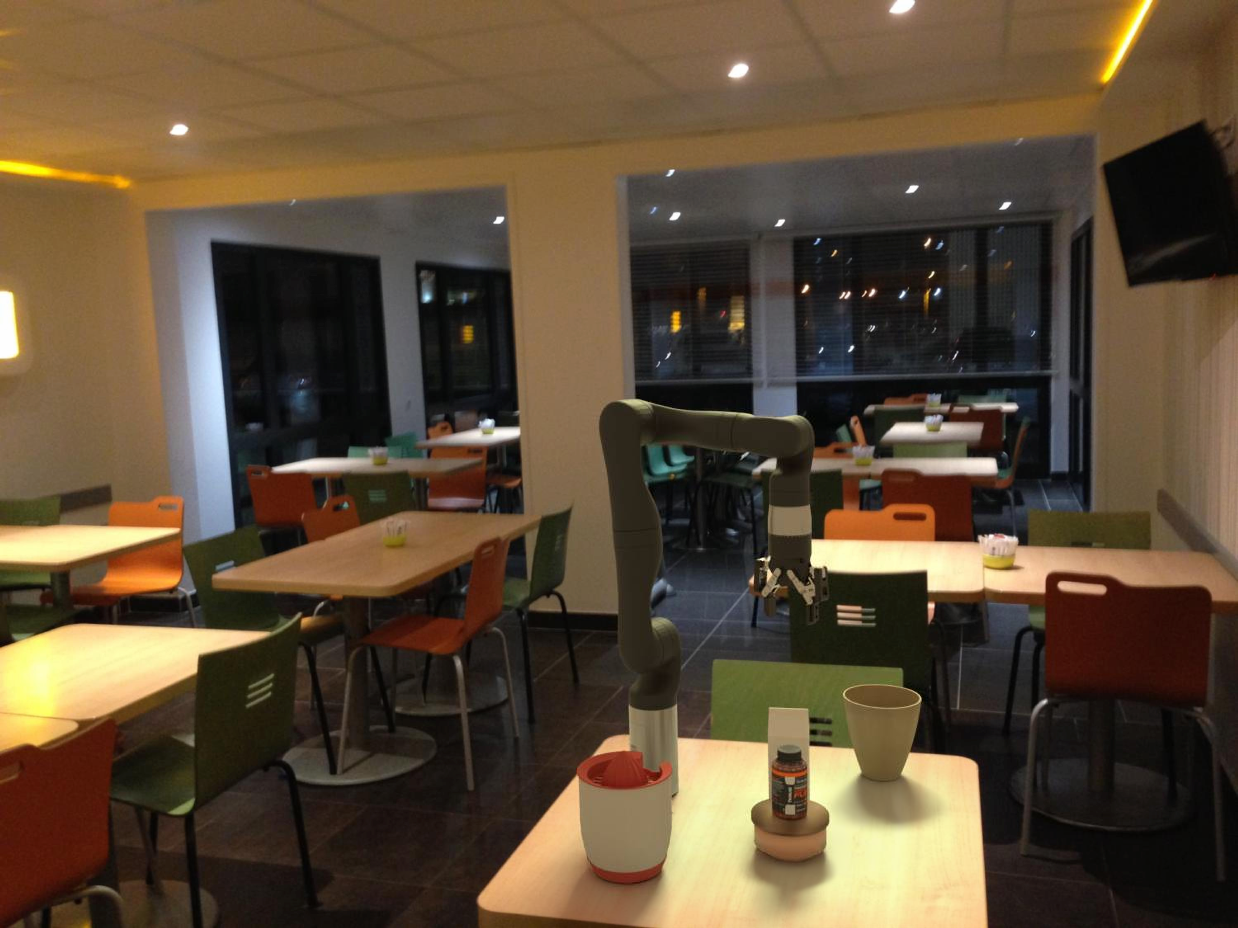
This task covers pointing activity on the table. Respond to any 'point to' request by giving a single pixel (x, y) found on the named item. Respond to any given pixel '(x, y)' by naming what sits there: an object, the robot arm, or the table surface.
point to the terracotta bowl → (790, 845)
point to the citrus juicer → (625, 815)
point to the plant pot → (881, 727)
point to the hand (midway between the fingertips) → (790, 620)
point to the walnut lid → (798, 827)
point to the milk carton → (788, 736)
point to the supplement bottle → (789, 783)
